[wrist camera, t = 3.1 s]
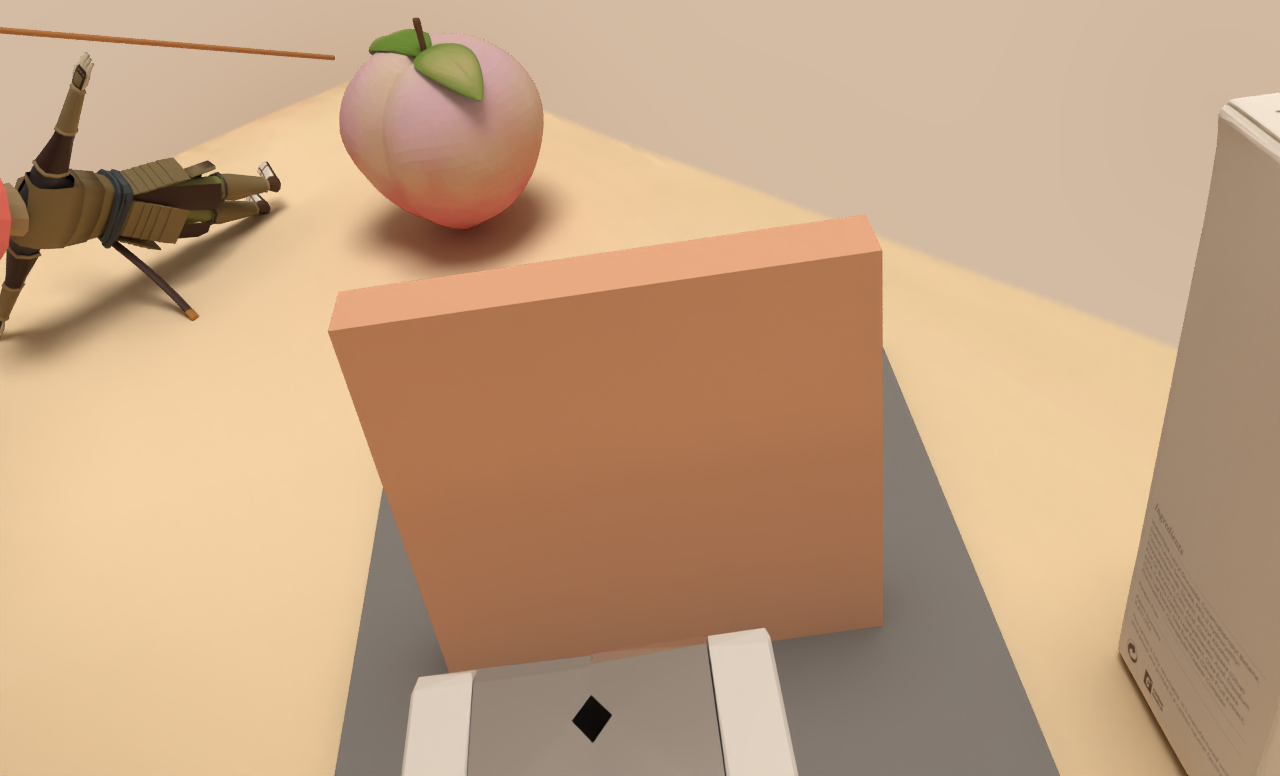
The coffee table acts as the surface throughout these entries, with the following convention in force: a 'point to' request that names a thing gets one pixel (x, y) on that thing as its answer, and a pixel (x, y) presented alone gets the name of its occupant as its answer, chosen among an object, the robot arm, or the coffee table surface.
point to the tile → (632, 441)
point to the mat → (790, 653)
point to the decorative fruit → (443, 125)
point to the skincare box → (1220, 480)
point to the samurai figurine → (117, 192)
